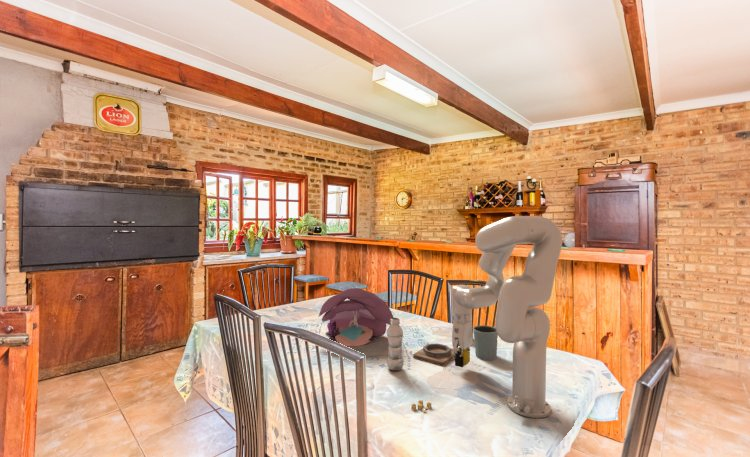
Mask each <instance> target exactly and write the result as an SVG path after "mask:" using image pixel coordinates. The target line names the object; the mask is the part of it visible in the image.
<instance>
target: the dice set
mask: <svg viewBox="0 0 750 457" xmlns="http://www.w3.org/2000/svg"><path fill="white" fill-rule="evenodd" d="M423 406H424V401H423V400H421V399H419V400H418V403H417V404H416V403H411V410H412V409H416V410H419V409H421V408H424V409H425V410H424V409H423V410H422V409H421V410H422V412H423V411H424V412H427V413H428V410H426V409H429V408H430V409H432V401H431V402H430V401H428V402H426V406H425V407H423ZM427 407H428V408H427ZM424 412H423V413H424Z"/></svg>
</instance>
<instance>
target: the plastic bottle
mask: <svg viewBox="0 0 750 457" xmlns="http://www.w3.org/2000/svg"><path fill="white" fill-rule="evenodd" d="M390 324H391V325H389V326H388V328H387V329H386V337H387V345H388V347H387V349H388V350H387V358H386V366H387V369H389V370H391V371H395V372H398V371H401V370H402V369H403V365H404V359H403V350H402V346H403V344H402V343H403V339H404V338H403V337H404V330H403V329H402V326H400V325H401V324H400V318H399V317H394V318H391V319H390Z"/></svg>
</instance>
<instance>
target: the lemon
mask: <svg viewBox="0 0 750 457" xmlns="http://www.w3.org/2000/svg"><path fill="white" fill-rule="evenodd" d="M458 348H460V346H458ZM458 351H459V352H460V350H459V349H458ZM469 352H470V351H468V350H467V349H465V350H463V354H462V356H463V367H462V368H464V367H465V366H467V365H468V364H469V363H470V362H469V360H471V354H470V355H469Z"/></svg>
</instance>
